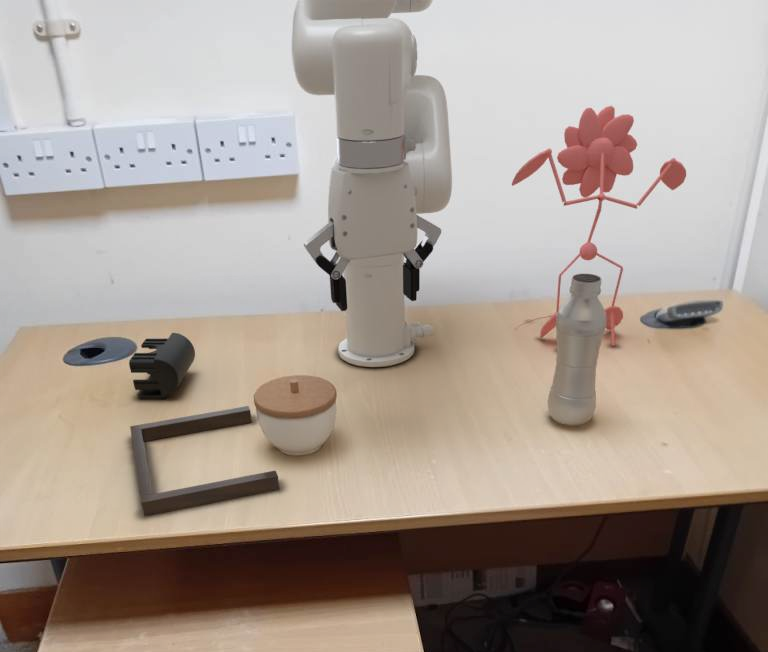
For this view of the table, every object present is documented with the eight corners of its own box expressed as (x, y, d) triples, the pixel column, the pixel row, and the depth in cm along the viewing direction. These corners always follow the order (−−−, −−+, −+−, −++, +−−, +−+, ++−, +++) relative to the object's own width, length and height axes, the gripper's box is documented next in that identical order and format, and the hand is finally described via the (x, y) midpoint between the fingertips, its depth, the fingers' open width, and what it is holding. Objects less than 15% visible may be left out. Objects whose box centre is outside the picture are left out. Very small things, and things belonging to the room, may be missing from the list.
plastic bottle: (566, 435, 107) (583, 291, 95) (536, 415, 112) (549, 275, 100) (603, 424, 109) (625, 281, 97) (572, 404, 114) (589, 266, 102)
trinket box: (262, 427, 111) (254, 365, 105) (338, 422, 111) (334, 361, 106) (258, 467, 102) (249, 402, 97) (341, 462, 103) (336, 397, 97)
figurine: (664, 344, 130) (709, 109, 110) (513, 357, 128) (530, 119, 107) (627, 310, 143) (662, 93, 123) (489, 322, 140) (500, 102, 120)
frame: (250, 418, 113) (248, 405, 112) (279, 489, 98) (277, 475, 97) (133, 438, 109) (129, 426, 108) (144, 516, 94) (140, 502, 93)
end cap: (182, 400, 118) (174, 358, 114) (136, 400, 119) (126, 358, 115) (199, 372, 126) (192, 332, 122) (155, 372, 127) (147, 332, 123)
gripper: (430, 141, 94) (429, 284, 104) (288, 154, 90) (301, 302, 100) (454, 152, 88) (451, 302, 98) (303, 166, 84) (316, 322, 94)
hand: (375, 302), depth 99 cm, fingers open, 8 cm apart
